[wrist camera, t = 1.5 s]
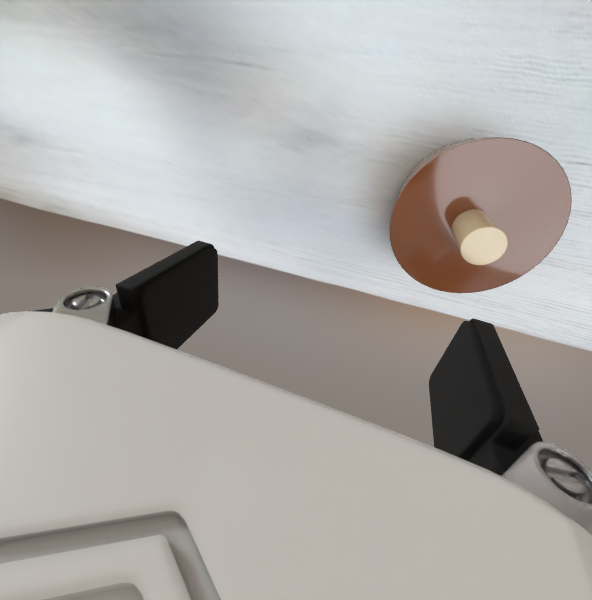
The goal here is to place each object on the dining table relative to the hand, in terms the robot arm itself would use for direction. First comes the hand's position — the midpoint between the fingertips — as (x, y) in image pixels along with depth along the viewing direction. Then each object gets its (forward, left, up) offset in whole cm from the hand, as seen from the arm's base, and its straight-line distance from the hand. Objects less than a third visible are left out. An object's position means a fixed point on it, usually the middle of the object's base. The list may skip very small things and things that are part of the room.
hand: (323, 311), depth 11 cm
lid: (+1, +9, -20) cm, 22 cm away
